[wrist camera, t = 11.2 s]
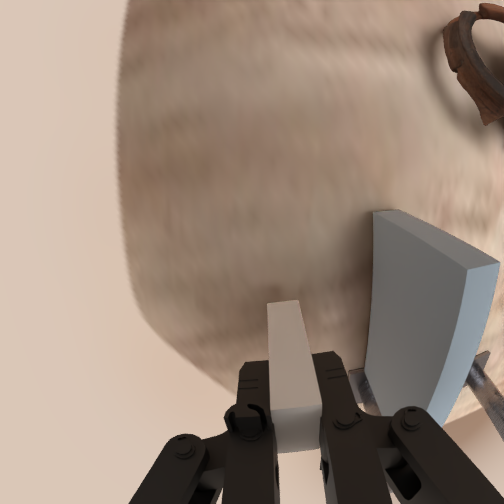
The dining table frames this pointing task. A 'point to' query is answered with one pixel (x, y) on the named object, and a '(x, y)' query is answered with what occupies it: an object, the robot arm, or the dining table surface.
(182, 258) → the dining table surface
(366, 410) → the hinge post
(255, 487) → the robot arm
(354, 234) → the dining table surface
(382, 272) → the gate
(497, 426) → the post
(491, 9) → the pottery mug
